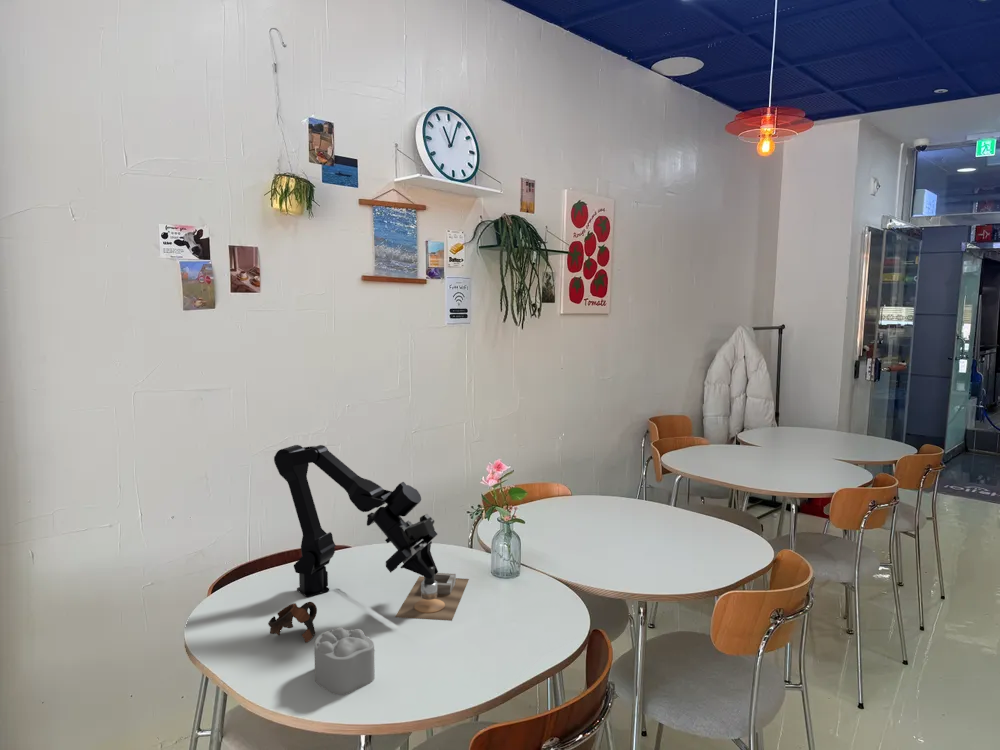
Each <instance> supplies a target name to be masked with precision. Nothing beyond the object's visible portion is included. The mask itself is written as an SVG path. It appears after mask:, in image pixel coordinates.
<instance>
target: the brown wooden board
mask: <svg viewBox="0 0 1000 750" xmlns="http://www.w3.org/2000/svg"><path fill="white" fill-rule="evenodd" d="M435 580H436V581H437V598H435V599H432V600H426V599H423V598H422V597H421V582H422V581H424V576H422V575H420V576H419V577H418V578H417V580H416V581H415V582H414V585H413V586H412V588H411V590H410V592H409V593H408V595H407V596H406V598H405V600H404V601H403V603H402V604H401V606H400V608H399V610H398V611H397V612H396V615H395V616H394V618H399V619H400V618H401V619H416V620H417V619H419V620H433V621H434V620H435V621H438V620H439V621H451V622H452V621H453V619H454V617H455V614H456V612H457V609H458V607H459V604H460V602H461V600H462V597H463V595H464V592H465V590H466V588H467V585H468V583H469V580H470V578H457V577H456V573H448V572H447V573H445V572H444V573H443V572H438V573H437V574H435Z"/></svg>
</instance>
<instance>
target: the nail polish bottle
mask: <svg viewBox="0 0 1000 750" xmlns="http://www.w3.org/2000/svg"><path fill="white" fill-rule="evenodd" d="M427 567H428V569H429V570H430V572H431V573H432V575H433V577H432V578H431V579H429V578H426V577H424V576H423V577H424V581H422V582H421V597H422V598H423V599H426V600H432V599H435V598H437V581H436V580H435V567H434V566H432V565H427Z"/></svg>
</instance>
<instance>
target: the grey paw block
mask: <svg viewBox="0 0 1000 750" xmlns="http://www.w3.org/2000/svg"><path fill="white" fill-rule="evenodd" d="M313 646H314V647H313V651H314V653H313V655H314V679H315V680H314V681H315V682H316V684H317V685H319V687H321V688H322V689H323V690H326V691H327V692H328V693H330V694H334V695H342V696H343V695H347V694H351V693H352V692H354V691H356V690H358V689H359V688H362V687H364V686H367V685H369V684H371V683H373V682H374V681H375V678H376V677H375V643H374V641H373V640H372V639H371V638H370V637H368V636H366V635H365V633H364V631H363V630H362V629H360V628H355V629H349V630H348V629H344V628H343V627H337V628H336V629H329V630H327V631H324V632H322V633H321V634H319V635H318V636H317V637H316V638H315V639H314V645H313Z"/></svg>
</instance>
